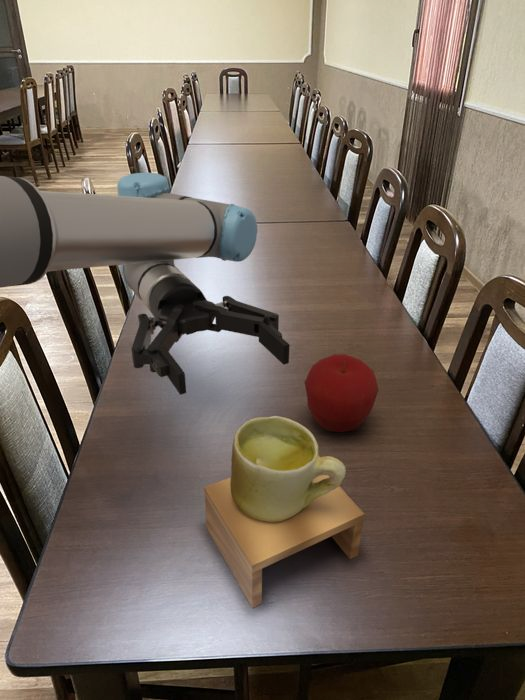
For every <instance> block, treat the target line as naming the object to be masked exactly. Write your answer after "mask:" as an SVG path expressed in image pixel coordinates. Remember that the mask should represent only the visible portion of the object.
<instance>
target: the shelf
mask: <svg viewBox="0 0 525 700" xmlns="http://www.w3.org/2000/svg"><path fill="white" fill-rule="evenodd" d="M327 478H329V476H328V475H320V476H317V477H316V478H315V479H314V480H313V481H312V482H313V483H317V482H319V481H321V480H323V479H327ZM230 482H231V477H227V478H225V479H222V480H220V481H218V482H215V483H213V484H210V485H206V486H204V487H203V492H204V505H205V507H204V508H205V522H206V530H207V532H208V533H209V535H210V537H211V539H212V540H213V542H214V544H215V546H216V547H217V549H218V551H219V553H220V555H221V556H222V558H223V560H224V562H225V563H226V565H227V567H228V569H229V570H230V572H231V573H232V575H233V577H234V579H235V580H236V583H237V585H238V586H239V588H240V590H241V591H242V593H243V595H244V597H245V598H246V600H247V601H248V603H249V606H250V607H251V608H252V609H253V608H255V607H258V606H259V605H261V604H262V603H263V569H264V568H266V567H269V566H270V565H273V564H275V563H277V562H279V561H282V560H283V559H286V558H288V557H290V556H292V555H295V554H297V553H299V552H300V551H303V550H305V549H307V548H309V547H311V546H314V545H316V544H318V543H320V542H322V541H324V540H326V539H328V538H330V537H331V538H332V539H333V540H334V542H335V543H336V544H337V545H338V546H339V548H340V549H341V550H342V551H343V553H344V554H345V555H346V557H347V558H348V559H349V560H351V559H354V558H355V557H358V556H359V552H360V544H361V537H362V531H363V524H364V519H365V512H363V511H362V509H361V508H360V507H359V506H358V505H357V504H356V503H355V501H353V500H352V498H351V497H350V496H349V495H348V494H347V493H346V492H345V491H344V489H343V488H342V487H341V485H339V486H338V487H337V488H336V489H334V490H331V491H330V492H328V493H327V494H324V495H322V496H319V497H317V498H316V499H314V500H313V501H312V502H311V503H310V504H309V505H308V506H307V507H305V508H303V509H302V510H301V511H300V512H299V513H297V514H296V515H294V516H293V517H290V518H288V519H285V520H283V521H279V522H268V521H261V520H258V519H255V518H252V517H249V516H247V515H245V514H244V513H243V512H242V511H241V510H240V509H239V508H238V506H237V505H236V504H235V502H234V500H233V497H232V494H231V486H230Z"/></svg>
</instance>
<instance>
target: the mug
mask: <svg viewBox="0 0 525 700" xmlns="http://www.w3.org/2000/svg"><path fill="white" fill-rule="evenodd" d="M231 448H232V449H231V450H232V451H231V460H230V461H231V466H230V467H231V475H230V478H231V482H230V486H231V494H232V497H233V500H234V502H235V504H236V505H237V506H238V508H239V509H240V510H241V511H242V512H243V513H244V514H245V515H247V516H249V517H252V518H255V519H258V520H261V521H268V522H279V521H283V520H285V519H288V518H290V517H293V516H294V515H296V514H297V513H299V512H300V511H301V510H302V509H303V508H305V507H307V506H308V505H309V504H310V503H311V502H312V501H313V500H314V499H316V498H317V497H319V496H322V495H324V494H327V493H328V492H330V491H331V490H334V489H336V488H337V487H338V486H341V484H342V482H343V481H344V480H345V477H346V473H347V469H346V466H345V463H344V462H342V461H341V460H340V459H338V458H336V457H334V456H331V455H324V456H323V455H322V456H320V454H319V444H318V441H317V439H316V437H315V436H314V434H313V433H312V432H311V430H309V429H308V428H307V427H305V426H304V425H302V424H301V423H300V422H297V421H295V420H293V419H291V418H288V417H284V416H279V415H271V416H268V417H263V416H262V417H261V416H260V417H253V418H250V419H249V420H247V421H245V422H244V423H243V424H242V425H240V427H239V428H238V429H237V431H236V433H234V436H233V442H232V447H231ZM320 475H328V476H329V478H327V479H323V480H321V481H319V482H317V483H313V482H312V481H313V480H314V479H315V478H316V477H317V476H320Z"/></svg>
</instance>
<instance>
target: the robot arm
mask: <svg viewBox="0 0 525 700" xmlns="http://www.w3.org/2000/svg"><path fill="white" fill-rule="evenodd" d="M116 187H117V195H114V194H113V195H112V194H97V193H96V194H95V193H83V192H82V193H81V192H68V191H67V192H65V191H52V190H40V189H39V188H38V187H37V186H36V185H35V184H33V183H32V182H31V181H29V180H27V179H25V178H22V177H18V176H9V175H7V176H6V175H0V289H1V288H8V287H17V286H26V285H31V284H35V283H37V282H39V281H40V280H42V279H43V278H44V277H45V275H47V273H48V272H55V271H58V272H59V271H67V270H79V269H90V268H100V267H110V266H120V272H121V275H122V277H123V280H124V282H125V283H126V284H127V286H128V288H129V289H130V290H131V291H132V292H133V293H134V294H135V295H136V297H138V299H139V300H140V301H141V303H143V305H144V306H145V307H146V308H147V309H148V311H149V312H150V313H151V315H152V316H153V317H152V316H149V317H148V314H147V313H140V314H137V319H138V328H137V331H136V334H135V337H134V340H133V343H132V347H131V350H130V351H131V357H132V358H131V359H132V363H133V364H132V365H133V368H135V369H141V368H143V367H144V365H149V371H150V372H151V373H156V374H157V376H158V377H160V378H164V377H167V378H168V380H169V381H170V383H172V384H171V385H172V386H173V387H174V388H175V390H176V391H177V392H178V394H179V395H180V396H181V395H184V394H187V384H186V373H185V371H184V370H183V369H182V367H181V366H180V365H179V363H178V362H177V361H176V359H175V358H174V356H173V355H172V354H171V353H170V350H171V349H172V348H173V346H174V344H175V343H179V341H180V339H181V338H182V336H184V335H186V336H188V335H192V334H195V333H197V332H198V333H199V332H205V331H210V332H216V333H220V332H221V331H227V332H232V333H236V334H241V335H246V336H251V337H255V338H258V342H259V343H260V344H261V346H263V347H264V348H265V349H266V350H267V351H268V352H269V353H270V354H271V355H272V356H274V358H276V359H277V361H279V362H280V363H281V364H282V365H283V366H284V365H287V364H290V346H291V345H290V344H289V343H288V342H287V340H285V339H284V338H283V333H282V332H281V331H280V330H279V327H280V325H279V323H280V320H279V319H280V315H279V314H278V313H276V312H273V311H269V310H266V309H264V308H260V307H257V306H254V305H252V304H248V303H245V302H242V301H238V300H236V299H234V298H233V297H231V296H230V295H223V296H222V301H221V302H218V303H215V302H213V301H211V300H210V301H209V300H208V299H207V298H206V296H205V295H204V293H203V292H202V291H201V289H200V288H199V287H198V286H197V285H195V283H193V281H191V279H189V277H187V275H185V274H184V273H183V272H182V271H181V270H180V269H179V268H178V267H176V266H175V265H176V264H175V260H187V259H200V258H201V259H202V258H216V259H220V260H221V261H224V262H226V261H230V262H235V263H238V262H243V261H245V260H246V259H248V257H249V256H251V254H252V252H253V251H254V248H255V245H256V244H257V243H256V242H257V236H258V222H257V218H256V216H255V214H254V212H252V210H251V209H249V208H248V207H247V208H246V207H243V206H239V205H235V204H234V203H224V202H220V201H219V202H218V201H213V200H207V199H201V198H195V197H192V196H186V195H182V194H177V193H172V192H170V191H171V188H170V185H169V181H168V178H167V177H166V176H165V175H162V174H160V173H156V172H137V173H136V172H135V173H130V174H127V175H124V176H122V177H121V178H119V179H118V181H117V185H116ZM214 321H215V323H214ZM157 327H159V328H160V330H159V332H158V333H157V334H156V335H155V330H156V329H157ZM153 335H155V337H154V338H153V340H152V336H153Z"/></svg>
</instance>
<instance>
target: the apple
mask: <svg viewBox="0 0 525 700" xmlns="http://www.w3.org/2000/svg"><path fill="white" fill-rule="evenodd" d="M376 377H377V376H376V373H375V371H374V370H373V369H372V368H371V367H370V366H369V365H368V364H366V362H364V361H363V360H361V359H358V358H357V357H354V356H352V355H348V354H345V353H343V354H340V353H339V354H338V353H337V354H335V353H334V354H332V355H330V356H329V355H328V356H326V357H323V358H321V359H319V360H317V361H316V362H315V363H313V364H312V366H311V367H310V369H309V371H308V374H307V376H306V378H305V380H304V387H305V392H306V399H307V407H308V409H309V410H310V412H311V414H312V416H313V418H314V420H315V421H316V423H317V425H319V426H320V427H322V428H323V429H325V430H327V431H331V432H335V433H345V432H349V431H353V430H355V429H357V428H358V427H359V426H360V425H361V424H362V423H363V422H364V421H365V419H367V417H368V416H370V414H371V412H372V410H373V408H374V406H375V402H376V399H377V395H378V392H379V385H378V382H377V378H376Z"/></svg>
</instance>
